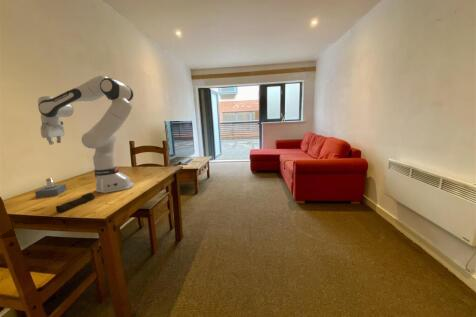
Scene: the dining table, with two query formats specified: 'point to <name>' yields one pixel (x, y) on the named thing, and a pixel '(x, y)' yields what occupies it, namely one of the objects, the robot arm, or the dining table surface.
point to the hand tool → (75, 202)
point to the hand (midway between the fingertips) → (55, 143)
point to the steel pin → (50, 183)
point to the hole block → (50, 191)
